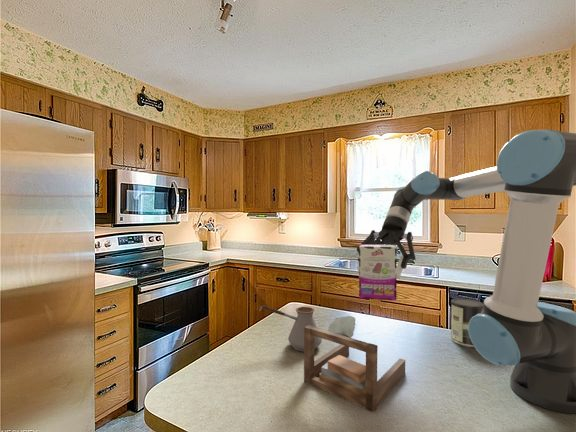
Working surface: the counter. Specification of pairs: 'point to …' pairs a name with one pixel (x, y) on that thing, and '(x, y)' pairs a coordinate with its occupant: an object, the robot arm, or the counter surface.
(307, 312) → the coffee pot
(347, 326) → the stone slab
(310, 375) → the offcut rack
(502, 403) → the counter surface
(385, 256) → the candy bar box
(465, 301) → the coffee can
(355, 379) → the offcut stack
